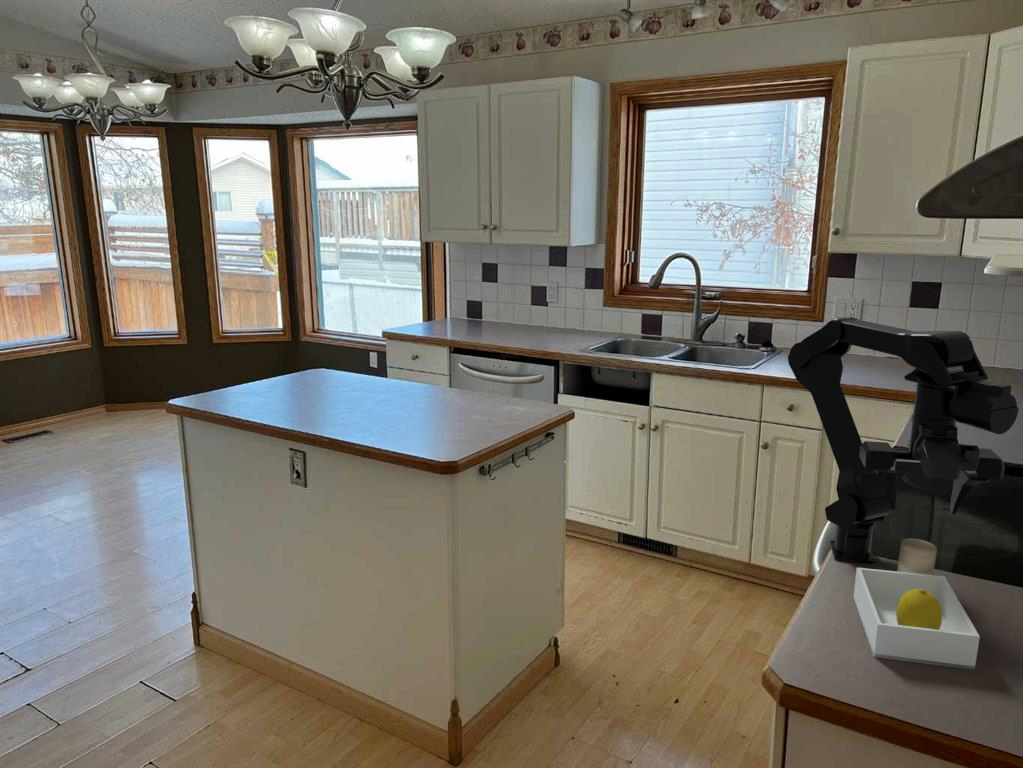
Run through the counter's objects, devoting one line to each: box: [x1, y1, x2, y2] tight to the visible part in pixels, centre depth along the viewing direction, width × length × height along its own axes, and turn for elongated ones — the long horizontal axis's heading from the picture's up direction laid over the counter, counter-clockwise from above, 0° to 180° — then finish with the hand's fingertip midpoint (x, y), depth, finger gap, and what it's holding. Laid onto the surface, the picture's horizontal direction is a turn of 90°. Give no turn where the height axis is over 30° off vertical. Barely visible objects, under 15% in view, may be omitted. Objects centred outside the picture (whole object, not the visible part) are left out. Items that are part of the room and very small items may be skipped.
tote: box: [853, 567, 980, 671], centre depth 107 cm, size 16×12×5 cm
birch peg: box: [896, 537, 938, 575], centre depth 118 cm, size 5×5×7 cm
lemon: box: [896, 589, 942, 630], centre depth 103 cm, size 6×6×8 cm
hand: (922, 510), depth 116 cm, fingers open, 8 cm apart
